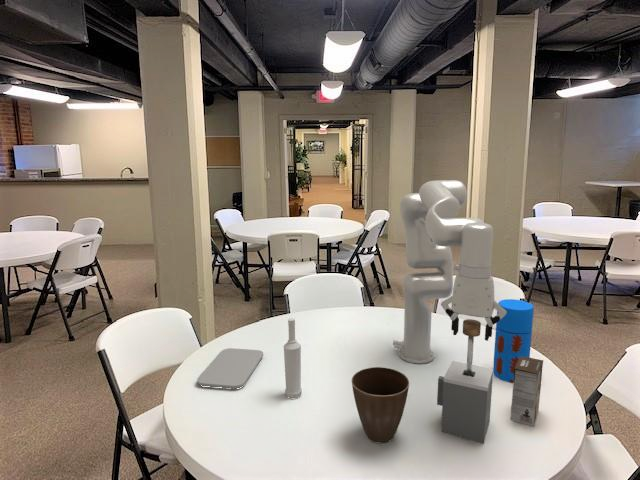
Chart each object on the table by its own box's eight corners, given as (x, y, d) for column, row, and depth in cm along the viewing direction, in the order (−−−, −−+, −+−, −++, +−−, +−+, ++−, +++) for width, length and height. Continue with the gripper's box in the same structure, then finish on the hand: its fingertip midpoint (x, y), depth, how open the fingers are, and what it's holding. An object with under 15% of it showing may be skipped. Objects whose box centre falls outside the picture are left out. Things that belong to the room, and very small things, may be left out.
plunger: (450, 391, 121) (454, 325, 117) (456, 378, 128) (459, 315, 124) (480, 398, 118) (485, 330, 114) (484, 384, 124) (489, 319, 121)
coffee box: (515, 404, 136) (519, 354, 132) (539, 410, 132) (543, 359, 129) (509, 420, 128) (514, 367, 125) (534, 427, 125) (539, 373, 121)
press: (432, 429, 124) (434, 376, 121) (441, 409, 134) (443, 358, 130) (483, 444, 118) (487, 387, 115) (489, 421, 127) (493, 368, 124)
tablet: (194, 388, 147) (193, 382, 147) (224, 353, 173) (224, 347, 172) (242, 393, 145) (241, 386, 144) (265, 356, 170) (265, 350, 169)
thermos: (531, 384, 147) (537, 311, 141) (496, 381, 149) (501, 309, 144) (523, 368, 157) (529, 299, 152) (490, 366, 159) (495, 298, 154)
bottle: (304, 392, 144) (302, 317, 139) (298, 400, 139) (296, 323, 134) (289, 389, 146) (287, 315, 140) (282, 397, 141) (280, 321, 136)
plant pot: (368, 459, 113) (369, 401, 109) (342, 426, 126) (342, 373, 123) (418, 443, 118) (421, 387, 115) (388, 413, 132) (389, 362, 129)
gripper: (437, 270, 117) (434, 335, 120) (510, 279, 109) (504, 347, 113) (443, 264, 123) (441, 325, 127) (513, 271, 115) (508, 336, 119)
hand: (471, 335), depth 120 cm, fingers open, 7 cm apart
